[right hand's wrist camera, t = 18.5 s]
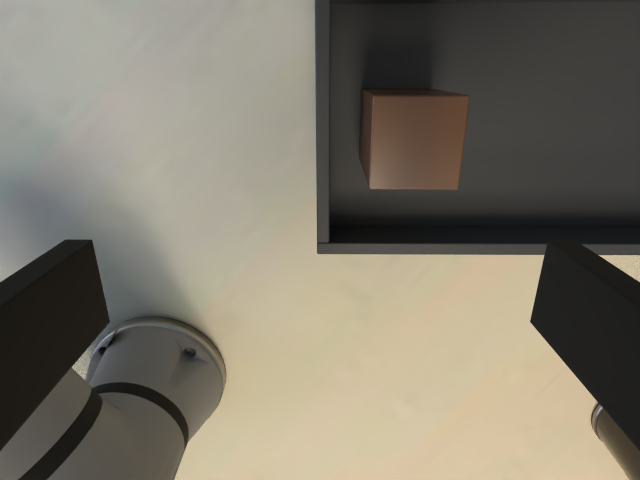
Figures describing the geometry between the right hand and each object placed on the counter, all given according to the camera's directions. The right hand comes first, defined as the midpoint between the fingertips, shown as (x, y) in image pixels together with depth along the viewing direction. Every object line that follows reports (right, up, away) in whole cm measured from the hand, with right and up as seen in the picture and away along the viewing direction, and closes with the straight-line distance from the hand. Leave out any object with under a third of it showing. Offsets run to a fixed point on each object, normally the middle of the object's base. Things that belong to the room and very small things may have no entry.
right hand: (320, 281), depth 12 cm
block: (+5, +9, +15) cm, 18 cm away
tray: (+17, +9, +16) cm, 25 cm away
